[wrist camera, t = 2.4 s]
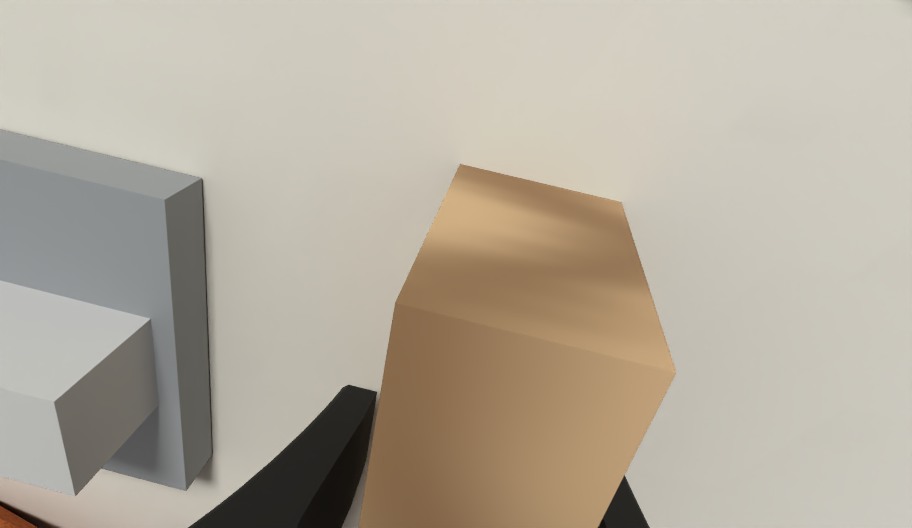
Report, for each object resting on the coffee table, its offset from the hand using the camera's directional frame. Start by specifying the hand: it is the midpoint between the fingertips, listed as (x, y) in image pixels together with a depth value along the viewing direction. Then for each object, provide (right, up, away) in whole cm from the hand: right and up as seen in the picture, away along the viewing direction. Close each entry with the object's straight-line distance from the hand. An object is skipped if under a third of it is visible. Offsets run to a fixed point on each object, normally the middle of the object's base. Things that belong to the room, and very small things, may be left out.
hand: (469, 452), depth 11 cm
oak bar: (0, +1, +1) cm, 2 cm away
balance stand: (-10, +3, +2) cm, 10 cm away
